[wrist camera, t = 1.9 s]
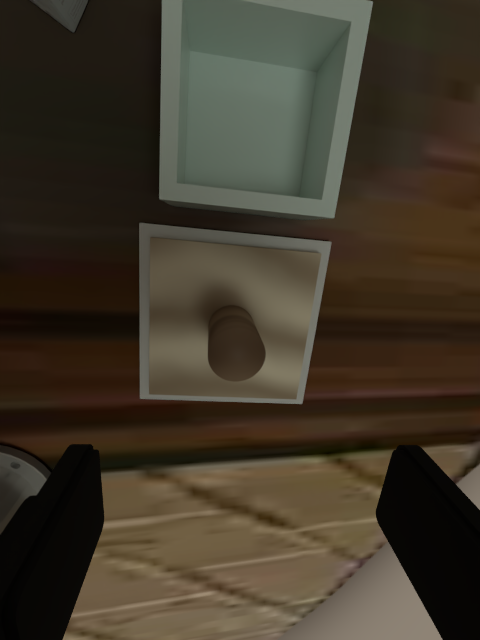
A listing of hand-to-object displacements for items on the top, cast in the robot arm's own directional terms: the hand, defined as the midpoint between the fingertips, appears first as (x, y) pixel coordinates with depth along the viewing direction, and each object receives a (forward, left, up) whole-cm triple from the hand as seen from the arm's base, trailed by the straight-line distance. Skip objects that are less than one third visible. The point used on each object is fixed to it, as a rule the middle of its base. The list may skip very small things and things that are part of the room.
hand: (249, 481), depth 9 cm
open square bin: (+12, +7, -19) cm, 23 cm away
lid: (0, -1, -18) cm, 18 cm away
